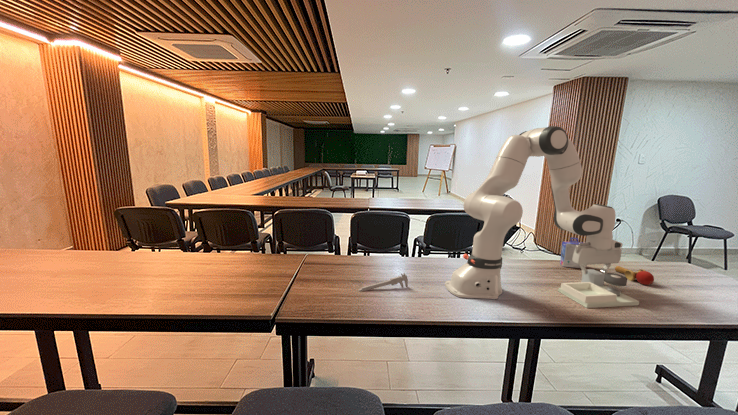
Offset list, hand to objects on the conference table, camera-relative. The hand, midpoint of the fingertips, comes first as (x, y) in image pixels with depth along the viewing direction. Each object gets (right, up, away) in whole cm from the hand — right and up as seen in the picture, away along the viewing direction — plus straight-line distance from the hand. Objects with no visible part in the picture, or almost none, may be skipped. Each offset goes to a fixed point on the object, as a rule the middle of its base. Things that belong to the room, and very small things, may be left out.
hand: (594, 273), depth 132 cm
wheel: (-1, -1, -12) cm, 12 cm away
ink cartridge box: (+6, -2, +24) cm, 25 cm away
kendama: (+24, -5, +9) cm, 27 cm away
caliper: (-91, -5, -8) cm, 92 cm away
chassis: (-8, -7, -12) cm, 16 cm away
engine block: (0, -5, +1) cm, 5 cm away
